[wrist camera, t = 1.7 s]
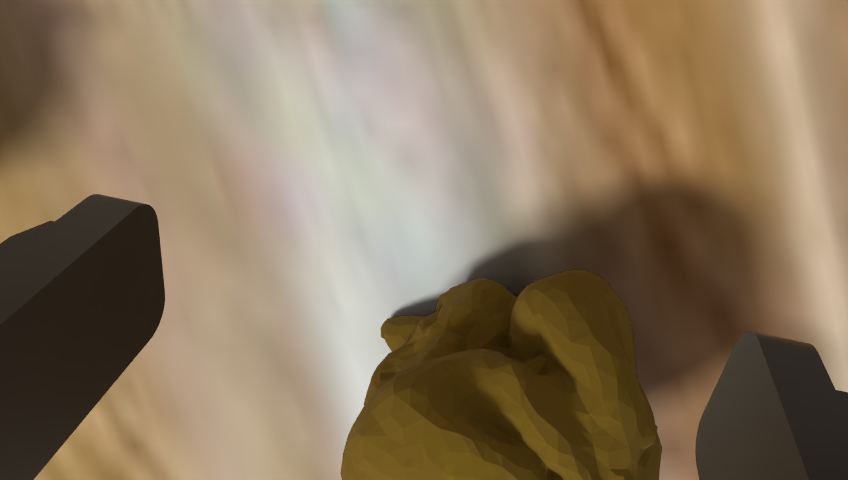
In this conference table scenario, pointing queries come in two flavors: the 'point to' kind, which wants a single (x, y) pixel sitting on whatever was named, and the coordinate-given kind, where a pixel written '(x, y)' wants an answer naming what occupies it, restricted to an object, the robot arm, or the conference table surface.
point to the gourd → (508, 389)
